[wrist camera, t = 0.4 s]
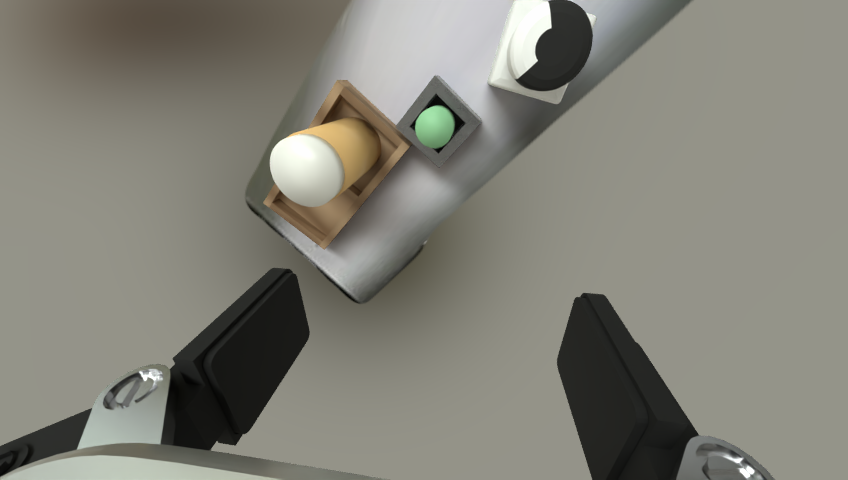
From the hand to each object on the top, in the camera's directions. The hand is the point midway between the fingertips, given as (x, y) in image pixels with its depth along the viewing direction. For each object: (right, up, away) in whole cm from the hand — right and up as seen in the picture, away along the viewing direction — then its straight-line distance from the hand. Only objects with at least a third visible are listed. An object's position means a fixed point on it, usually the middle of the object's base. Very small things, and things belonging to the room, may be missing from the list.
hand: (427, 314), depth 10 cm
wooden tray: (-12, +12, +33) cm, 37 cm away
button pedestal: (+2, +18, +27) cm, 32 cm away
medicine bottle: (+11, +23, +23) cm, 34 cm away
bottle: (-9, +15, +29) cm, 34 cm away
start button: (+2, +16, +25) cm, 29 cm away
